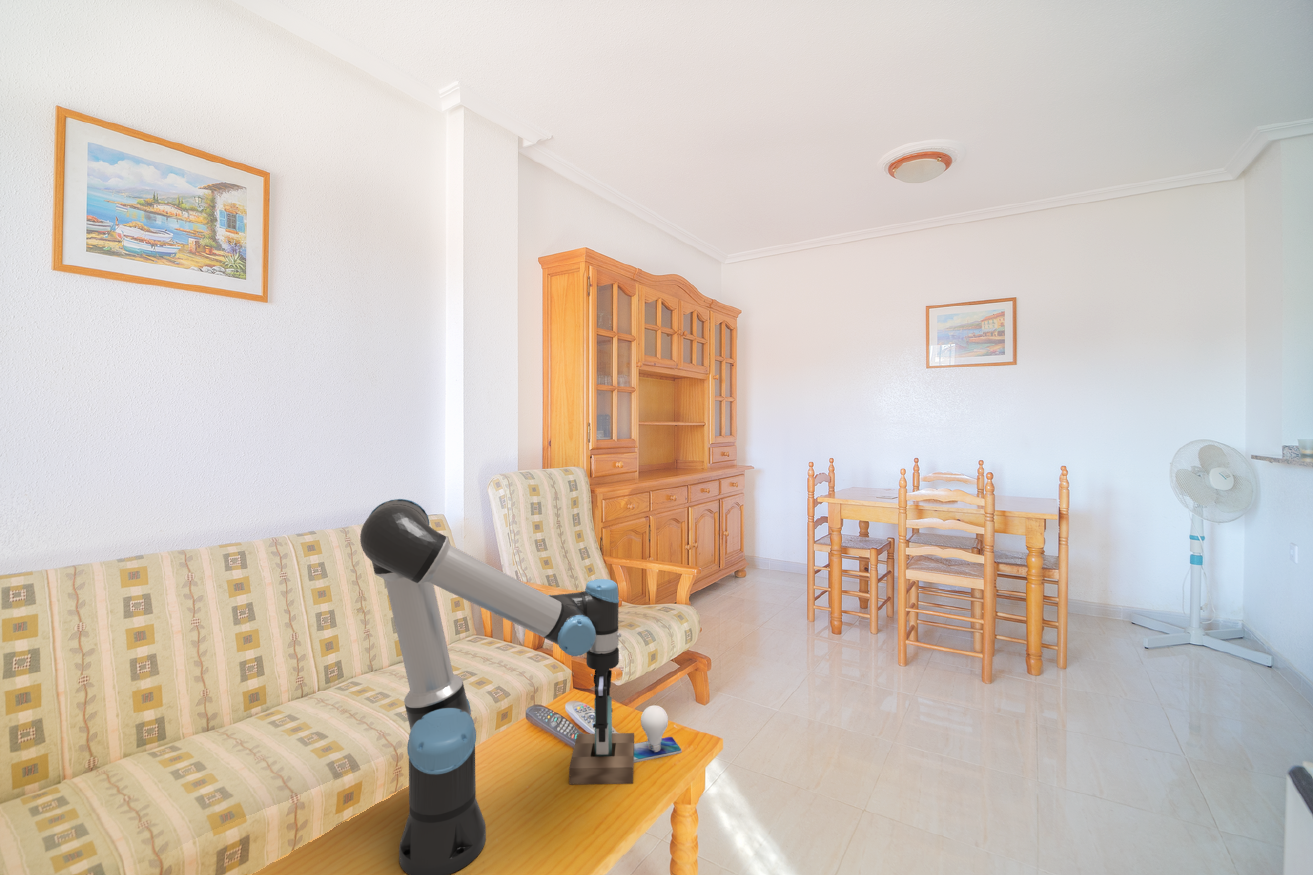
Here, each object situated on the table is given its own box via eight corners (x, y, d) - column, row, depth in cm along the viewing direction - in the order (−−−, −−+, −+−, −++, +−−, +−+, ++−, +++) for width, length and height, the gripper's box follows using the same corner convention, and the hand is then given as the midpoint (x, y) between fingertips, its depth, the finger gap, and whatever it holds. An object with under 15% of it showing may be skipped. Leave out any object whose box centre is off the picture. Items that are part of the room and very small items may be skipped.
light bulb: (665, 761, 131) (665, 714, 131) (638, 758, 133) (637, 712, 132) (670, 745, 138) (670, 701, 138) (644, 742, 139) (644, 699, 139)
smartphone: (614, 747, 137) (672, 735, 142) (615, 750, 137) (672, 739, 142) (622, 762, 130) (682, 750, 135) (623, 766, 130) (682, 754, 135)
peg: (611, 763, 128) (611, 702, 128) (594, 763, 128) (593, 703, 128) (612, 753, 132) (612, 694, 132) (595, 753, 132) (595, 694, 132)
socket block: (569, 784, 123) (569, 768, 123) (577, 748, 137) (577, 733, 137) (632, 783, 123) (632, 767, 123) (634, 747, 137) (634, 732, 137)
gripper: (616, 662, 121) (617, 769, 121) (620, 634, 138) (621, 727, 139) (582, 663, 121) (582, 769, 121) (590, 634, 138) (590, 728, 138)
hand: (603, 747), depth 130 cm, fingers closed on peg, 4 cm apart
